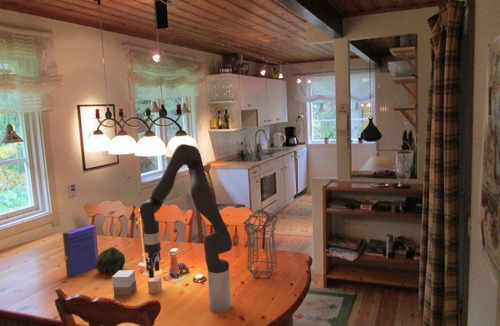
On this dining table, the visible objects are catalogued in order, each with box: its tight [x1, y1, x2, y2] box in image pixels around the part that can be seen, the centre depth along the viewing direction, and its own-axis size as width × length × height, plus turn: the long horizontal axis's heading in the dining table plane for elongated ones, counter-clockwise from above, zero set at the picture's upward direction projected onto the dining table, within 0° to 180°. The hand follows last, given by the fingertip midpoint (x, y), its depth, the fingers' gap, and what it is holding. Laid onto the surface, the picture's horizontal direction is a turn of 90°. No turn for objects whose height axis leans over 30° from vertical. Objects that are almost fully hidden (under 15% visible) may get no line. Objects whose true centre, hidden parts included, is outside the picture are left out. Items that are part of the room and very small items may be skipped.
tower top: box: [111, 269, 136, 288], centre depth 196 cm, size 8×8×5 cm
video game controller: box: [169, 262, 190, 278], centre depth 217 cm, size 10×5×7 cm, turn 141°
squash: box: [96, 246, 126, 275], centre depth 223 cm, size 14×15×15 cm
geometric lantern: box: [242, 208, 278, 279], centre depth 209 cm, size 16×16×35 cm
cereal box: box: [62, 224, 99, 278], centre depth 226 cm, size 17×5×24 cm, turn 149°
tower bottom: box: [112, 279, 137, 298], centre depth 196 cm, size 8×8×5 cm
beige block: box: [147, 276, 163, 294], centre depth 197 cm, size 5×5×6 cm
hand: (154, 274), depth 197 cm, fingers open, 8 cm apart
